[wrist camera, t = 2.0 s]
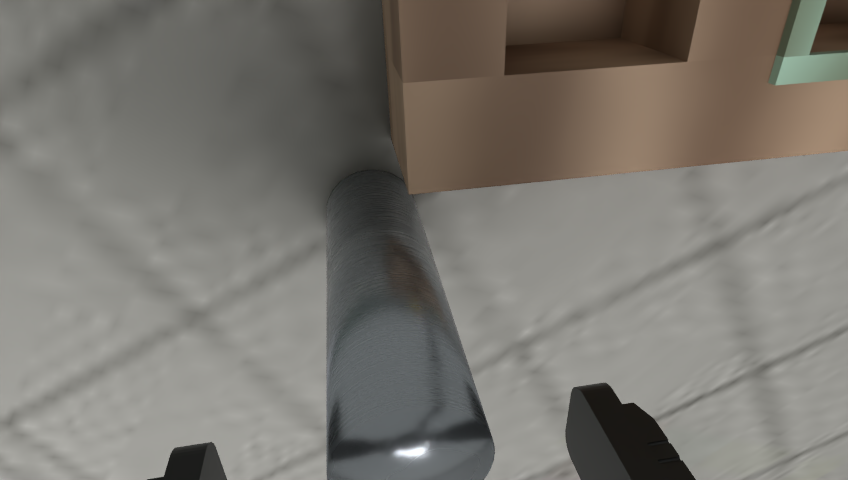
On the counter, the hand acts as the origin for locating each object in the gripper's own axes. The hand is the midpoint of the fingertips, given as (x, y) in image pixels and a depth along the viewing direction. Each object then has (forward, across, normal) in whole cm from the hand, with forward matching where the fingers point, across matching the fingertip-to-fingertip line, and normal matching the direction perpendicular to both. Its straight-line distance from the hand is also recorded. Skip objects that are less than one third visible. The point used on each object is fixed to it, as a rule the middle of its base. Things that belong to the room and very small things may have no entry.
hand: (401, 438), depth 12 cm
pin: (+11, 0, 0) cm, 11 cm away
